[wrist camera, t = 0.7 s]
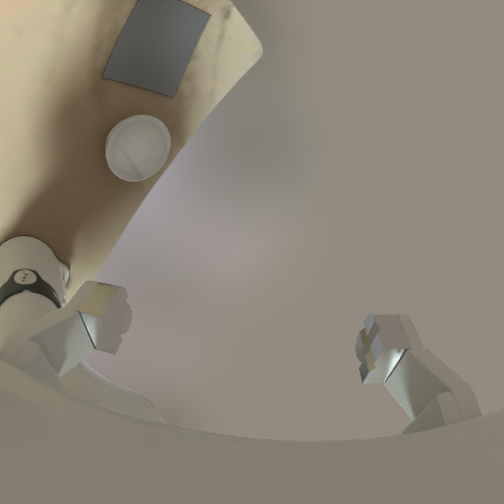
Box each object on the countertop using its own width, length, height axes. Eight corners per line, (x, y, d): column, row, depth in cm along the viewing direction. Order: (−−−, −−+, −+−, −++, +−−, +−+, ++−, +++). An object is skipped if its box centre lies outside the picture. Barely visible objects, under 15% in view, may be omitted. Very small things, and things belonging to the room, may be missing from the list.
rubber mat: (172, 97, 44) (173, 97, 44) (101, 77, 34) (102, 77, 33) (209, 16, 38) (210, 15, 38) (145, -13, 28) (147, -14, 28)
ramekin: (90, 166, 41) (96, 174, 37) (115, 104, 38) (123, 105, 35) (144, 180, 49) (155, 189, 46) (168, 124, 47) (181, 128, 43)
